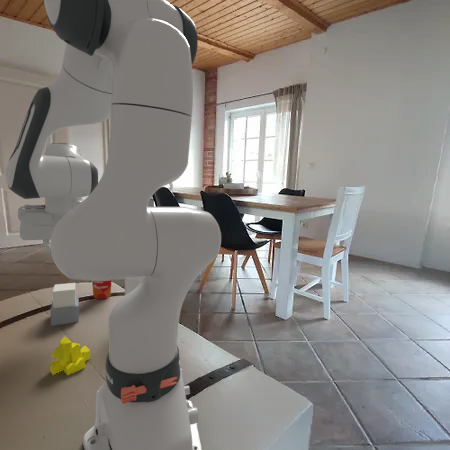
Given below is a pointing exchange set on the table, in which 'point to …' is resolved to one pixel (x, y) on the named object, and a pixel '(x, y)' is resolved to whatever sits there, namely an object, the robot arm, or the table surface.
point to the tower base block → (65, 314)
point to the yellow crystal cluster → (69, 357)
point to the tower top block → (64, 295)
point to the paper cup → (101, 289)
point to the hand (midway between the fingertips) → (65, 253)
